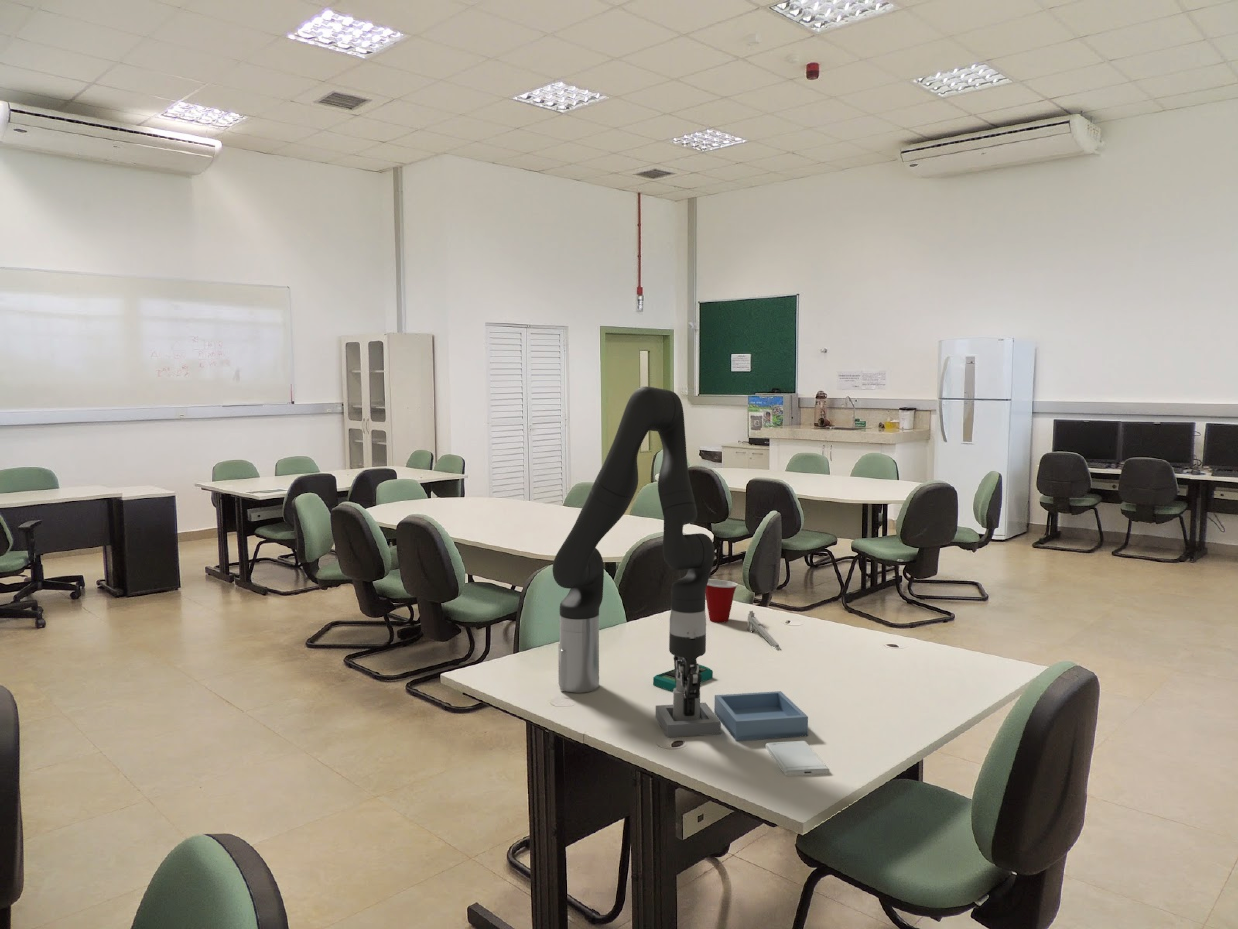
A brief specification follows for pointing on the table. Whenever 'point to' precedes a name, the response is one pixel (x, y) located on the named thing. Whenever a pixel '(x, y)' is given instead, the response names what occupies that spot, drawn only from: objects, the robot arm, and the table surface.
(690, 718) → the power adapter
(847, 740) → the table surface
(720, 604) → the plastic cup
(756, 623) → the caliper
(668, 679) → the digital multimeter
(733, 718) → the parts tray
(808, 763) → the hard drive
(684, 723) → the adapter holder
